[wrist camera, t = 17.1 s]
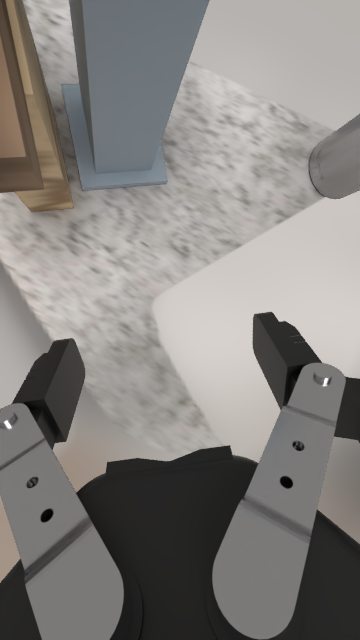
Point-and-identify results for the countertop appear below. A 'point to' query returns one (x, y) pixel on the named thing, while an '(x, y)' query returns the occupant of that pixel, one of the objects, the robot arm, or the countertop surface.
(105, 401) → the countertop surface
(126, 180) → the blue grey stand
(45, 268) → the countertop surface
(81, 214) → the countertop surface
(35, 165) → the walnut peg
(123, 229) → the countertop surface
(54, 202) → the oak post
